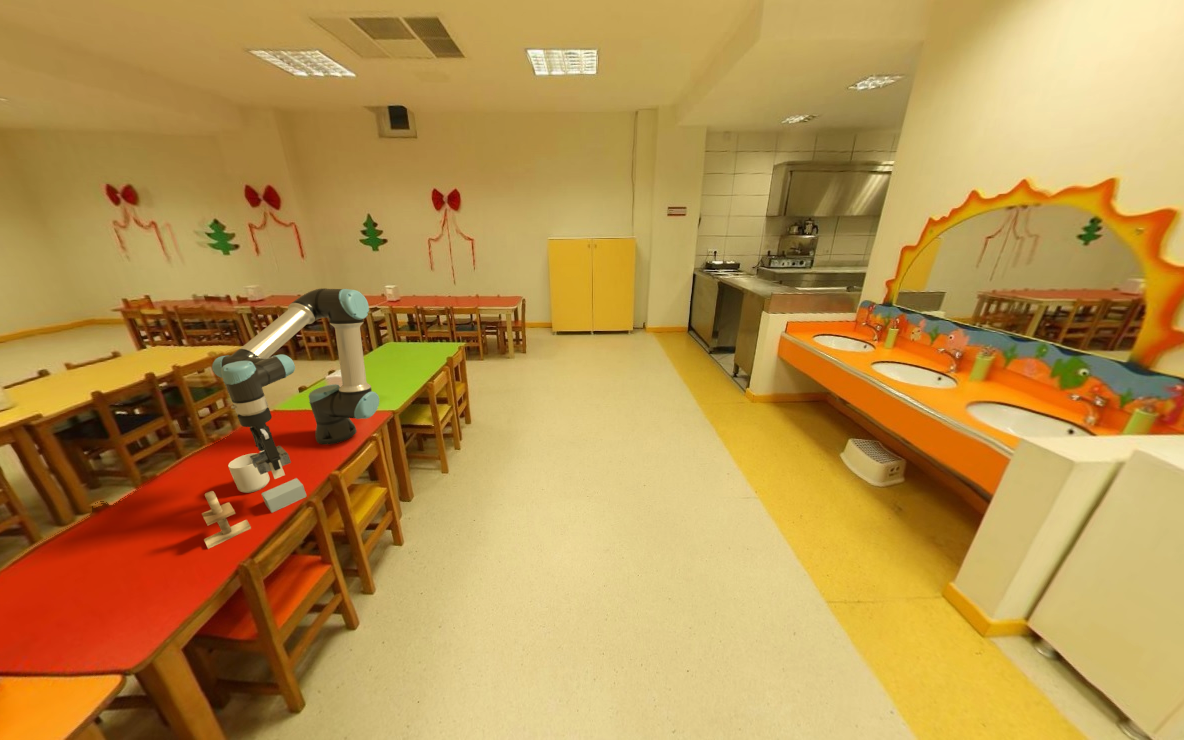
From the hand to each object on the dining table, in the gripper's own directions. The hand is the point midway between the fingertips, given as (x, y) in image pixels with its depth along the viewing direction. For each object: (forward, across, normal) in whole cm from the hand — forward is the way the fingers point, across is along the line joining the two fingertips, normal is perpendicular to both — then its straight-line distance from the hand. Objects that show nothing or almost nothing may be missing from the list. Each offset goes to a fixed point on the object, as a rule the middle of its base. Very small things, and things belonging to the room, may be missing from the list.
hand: (275, 471), depth 125 cm
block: (+12, 0, 0) cm, 12 cm away
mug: (+13, -19, -3) cm, 23 cm away
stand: (+13, +4, -16) cm, 20 cm away
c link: (-3, 0, 0) cm, 3 cm away
